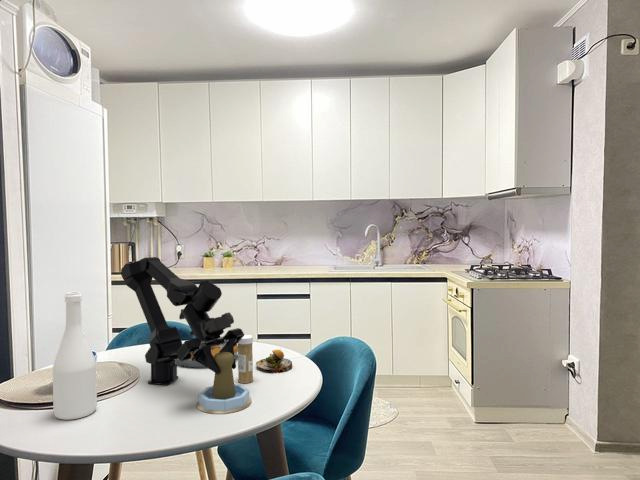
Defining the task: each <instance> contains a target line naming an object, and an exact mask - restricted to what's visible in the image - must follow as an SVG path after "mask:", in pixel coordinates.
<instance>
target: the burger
mask: <svg viewBox="0 0 640 480" xmlns="http://www.w3.org/2000/svg"><path fill="white" fill-rule="evenodd" d="M281 349H282V348H280V349H273V350H272V353H270V354H269V356H268V357H266V358H263V359H259V360H258V361H256V362H255V365H256V366H257V367H258V368H259V369H262V370H264V371H265V370H266V371H271V373H272V374H279V373H280V371H281V370H282V372H284V373H285V372H288V371H289V370H290V369H291V370H292V368H293V362H292V361H291V360H290V359H288V358H285V354H284V352H283V351H282V350H281Z"/></svg>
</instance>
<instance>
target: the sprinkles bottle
mask: <svg viewBox="0 0 640 480" xmlns="http://www.w3.org/2000/svg"><path fill="white" fill-rule="evenodd" d="M253 343H254V336H253V335H251V334H244V336H243V338H242V339H241V340H240V341H239V342H238V343H237V345H238V353H237V371H238V372H237V373H238V374H237V375H238V377H237V378H238V379H237V382H238V383H240V384H248V383H252V382H253V381H254V375H253V373H254V372H253V371H254V367H253V365H254V363H253V362H254V361H253Z"/></svg>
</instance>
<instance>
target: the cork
mask: <svg viewBox="0 0 640 480" xmlns="http://www.w3.org/2000/svg"><path fill="white" fill-rule="evenodd" d="M214 359H215V361H216V363H217V365H218V367H219V369H220V373H219V374H216V373H215V372H214V377H213V385H212V386H213V392H212V397H214V398H217V399H227V398H231V397H233V396H235V386H234V384H235V379H234V373H233V368H232V364H233V362H234V356H233V354H232V353H230V352H220V353H217V354H216V355H215V356H214Z"/></svg>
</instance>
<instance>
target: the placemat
mask: <svg viewBox="0 0 640 480" xmlns="http://www.w3.org/2000/svg"><path fill="white" fill-rule="evenodd" d="M251 404H252V397H251V396H250V395H249V401H248V402H247V403H246V404H245V405H244V407H240V408H237V409H233V410H229V411H212V410H205V409H204V408H203V407H202V406H201V405H200V404H199V399H198V401H196V408H197V410H198V411H200V412H203V413H204V414H205V413H206V414H212V415H226V414H227V415H228V414H233V413H237V412H240V411H244V410H245V409H247V408H249V406H250V405H251Z"/></svg>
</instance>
